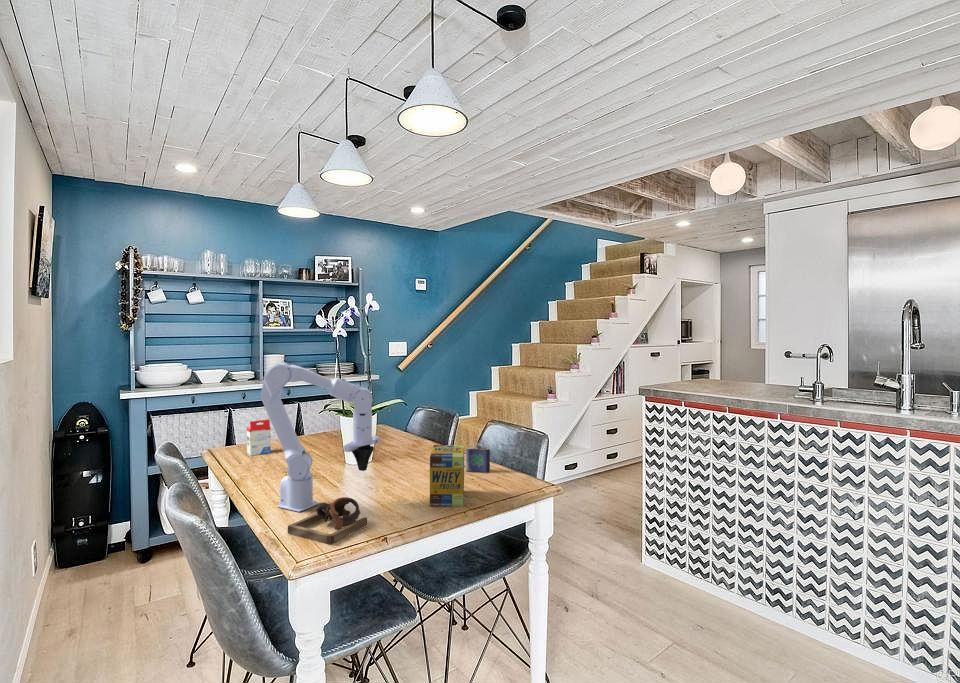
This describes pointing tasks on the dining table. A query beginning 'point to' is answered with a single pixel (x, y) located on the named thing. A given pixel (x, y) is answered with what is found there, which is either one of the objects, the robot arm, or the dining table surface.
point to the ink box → (258, 438)
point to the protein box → (447, 475)
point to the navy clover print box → (478, 459)
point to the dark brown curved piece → (338, 512)
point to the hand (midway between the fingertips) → (362, 470)
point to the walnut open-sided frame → (304, 532)
